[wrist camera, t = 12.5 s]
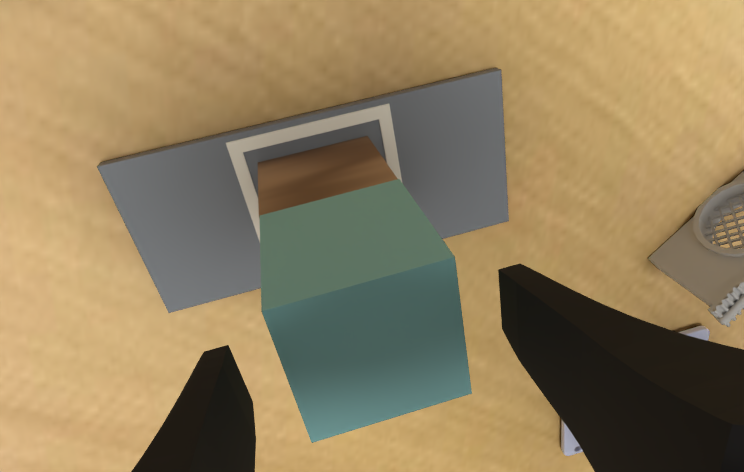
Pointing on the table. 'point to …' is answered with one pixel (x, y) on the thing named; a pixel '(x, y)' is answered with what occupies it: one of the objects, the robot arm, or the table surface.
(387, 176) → the walnut block
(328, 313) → the teal block
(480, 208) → the grey board with square
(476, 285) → the table surface
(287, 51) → the table surface
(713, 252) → the garden wall model
